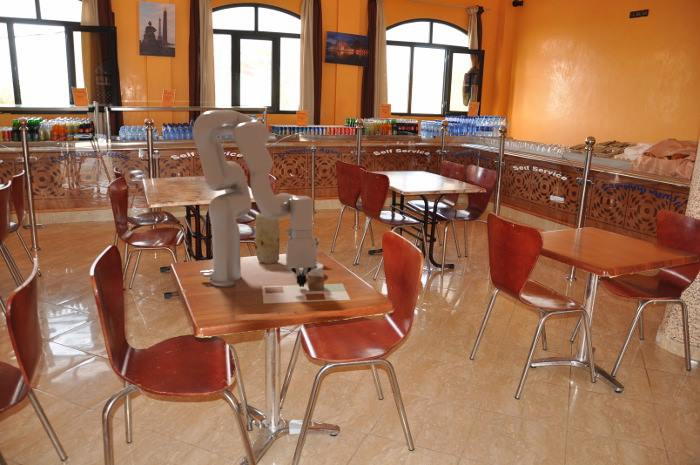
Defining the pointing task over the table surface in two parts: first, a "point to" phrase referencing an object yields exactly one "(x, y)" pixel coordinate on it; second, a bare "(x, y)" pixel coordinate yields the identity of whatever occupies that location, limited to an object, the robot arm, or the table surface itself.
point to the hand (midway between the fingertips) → (301, 285)
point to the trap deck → (299, 294)
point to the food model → (267, 239)
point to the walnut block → (315, 281)
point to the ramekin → (319, 269)
